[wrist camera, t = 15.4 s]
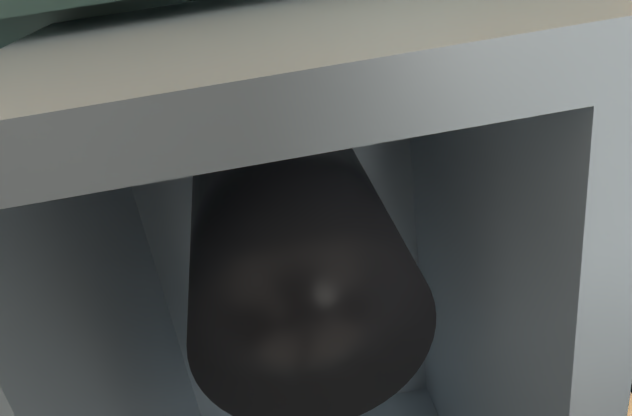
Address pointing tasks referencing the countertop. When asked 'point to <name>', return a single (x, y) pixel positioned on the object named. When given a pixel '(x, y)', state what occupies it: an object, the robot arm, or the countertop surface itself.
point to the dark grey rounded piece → (301, 291)
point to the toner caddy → (315, 138)
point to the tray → (60, 13)
